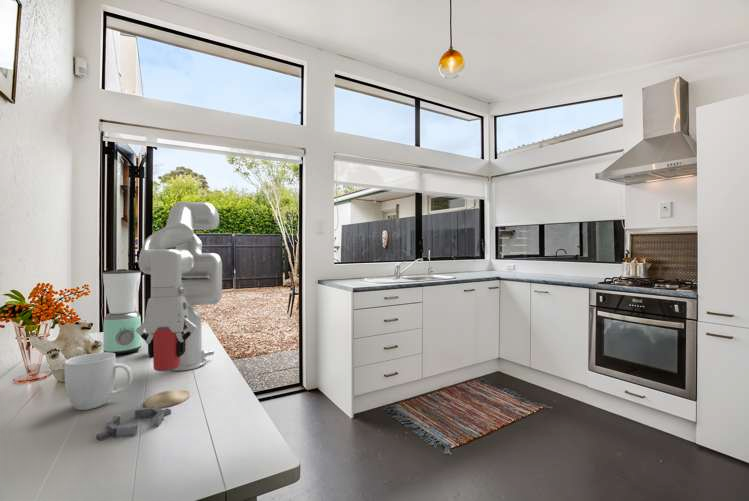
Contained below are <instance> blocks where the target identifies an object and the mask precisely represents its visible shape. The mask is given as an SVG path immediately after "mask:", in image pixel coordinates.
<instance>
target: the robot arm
mask: <svg viewBox="0 0 749 501" xmlns="http://www.w3.org/2000/svg"><path fill="white" fill-rule="evenodd" d="M219 224H220V215H219V212H218V210H217V208H216V207H215V206H214V205H213V204H211V203H209V202H200V201H199V202H198V201H196V202H195V201H179V202H176V203H174V204H173V205H172V206H171V208H170V212H169V215H168V218H167V222H166V224H165V226H164V227H163V228H161V229H158V230H157V231H155V232H154V233H152V234H151V235H149V236H148V237H146V239H145V240H144V241H143V244H142V248H141V250H140V252H139V257H138V268H139V269H140V270H139V271H141V273H144V274H146V275H150V298H148V300H147V305H146V310H145V319H144V322H142V323H141V326H139V327H138V328H137V329H136V332H137V333H138V334H139V335H140V336H141V339H143V340H144V341H145V343H146V344H147V354H148V355H149V357H148V358H149V359H152V358H153V335H154V333H155V332H156V330H157V328H166V327H169V329H170V330H171V331H172V332H173V333H176V336H177V338H178V340H179V342H178V343H177V356H178V357H180V366H179V367H178V368H176V369H173V370H172V372H173V371H174V372H178V371H179V372H181V371H188V370H189V371H190V370H194V369H198V368H201V367H203V366H205V365H206V364H207V359H206V358H207V357H208V356H209V357H210V356H213V355H214V354H215V351H214V349H210V350H203V349H202V348H203V347H202V341H203V340H202V339H203V338H202V316H201V313H200V312H199V311H198V310H197V309H196V306H205V305H206V306H207V305H208V306H209V305H216V304H218V303H220V302H221V299H222V294H223V291H222V290H223V261H222V258H221V256H220V254H218V253H215V252H202V251H203V243H202V240H201V239H200V238H199V236H197V234H196V233H195V230H206V231H207V230H216V229H217V228H218V227H219ZM174 247H176V248H174ZM182 278H183V279H182ZM184 278H185V279H184ZM195 278H200V279H195ZM201 278H203V279H201ZM204 278H205V279H204ZM206 278H207V279H206ZM205 363H206V364H205ZM204 364H205V365H204ZM202 365H203V366H202ZM200 366H201V367H200Z"/></svg>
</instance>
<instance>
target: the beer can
mask: <svg viewBox="0 0 749 501" xmlns="http://www.w3.org/2000/svg"><path fill="white" fill-rule="evenodd" d="M178 342H179V340H178V338H177V336H176V333H173V332H172V331H171V330H170V329H169V327H166V328H157V330H156V332H155V333H154V335H153V359H152V361H153V362H152V363H153V370H154V371H156V372H169V371H173V369H176V368H178V367H179V366H180V357H178V356H177V343H178Z"/></svg>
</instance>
